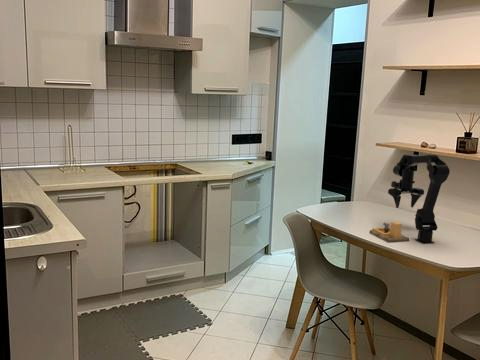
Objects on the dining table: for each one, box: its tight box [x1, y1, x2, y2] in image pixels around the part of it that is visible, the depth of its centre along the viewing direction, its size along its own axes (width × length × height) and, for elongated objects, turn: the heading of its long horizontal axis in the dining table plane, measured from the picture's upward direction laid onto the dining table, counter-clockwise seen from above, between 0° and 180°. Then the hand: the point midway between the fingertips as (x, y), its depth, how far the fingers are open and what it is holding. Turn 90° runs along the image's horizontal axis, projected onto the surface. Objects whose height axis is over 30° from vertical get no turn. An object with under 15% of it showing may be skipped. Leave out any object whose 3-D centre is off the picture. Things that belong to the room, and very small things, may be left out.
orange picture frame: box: [371, 221, 402, 238], centre depth 236 cm, size 14×10×7 cm
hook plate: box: [369, 222, 410, 244], centre depth 236 cm, size 16×12×6 cm
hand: (404, 207), depth 248 cm, fingers open, 9 cm apart
